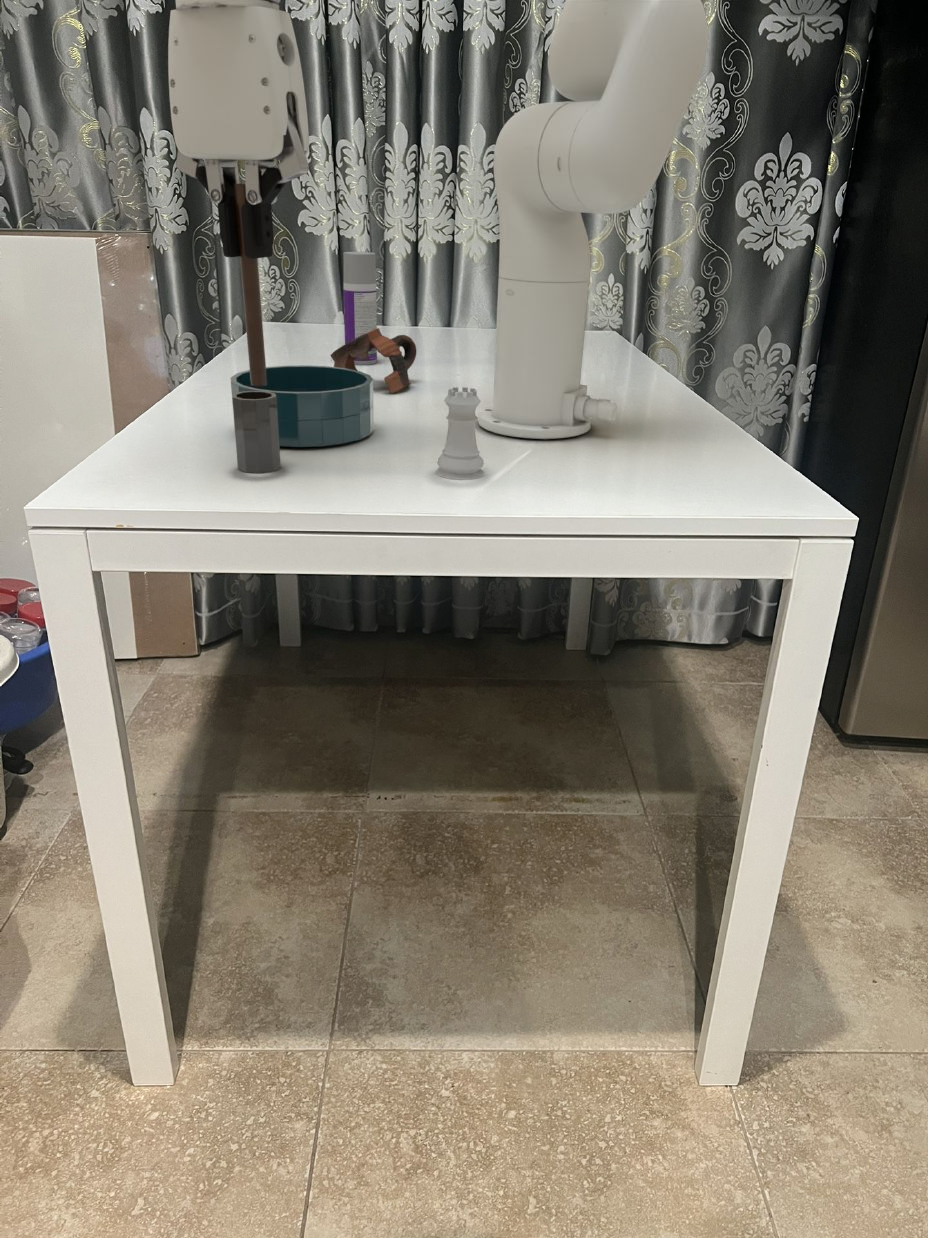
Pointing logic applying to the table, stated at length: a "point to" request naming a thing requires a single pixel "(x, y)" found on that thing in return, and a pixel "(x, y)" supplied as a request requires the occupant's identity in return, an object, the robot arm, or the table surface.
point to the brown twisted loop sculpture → (386, 348)
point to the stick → (251, 300)
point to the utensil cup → (256, 431)
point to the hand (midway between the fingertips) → (248, 255)
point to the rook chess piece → (461, 437)
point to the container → (360, 298)
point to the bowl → (317, 403)
